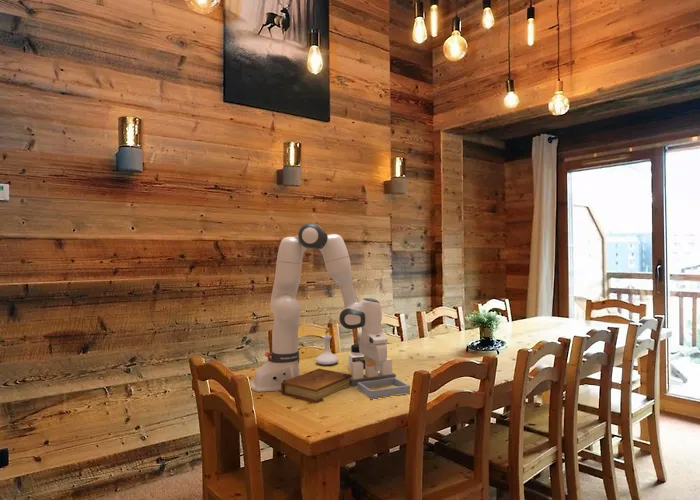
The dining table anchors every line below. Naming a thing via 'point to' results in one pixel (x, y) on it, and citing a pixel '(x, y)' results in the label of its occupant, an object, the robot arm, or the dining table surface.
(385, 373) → the block
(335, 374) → the diary
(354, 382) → the fuse block
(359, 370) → the block
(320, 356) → the flower in vase
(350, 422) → the dining table surface
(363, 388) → the tray
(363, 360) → the medicine bottle
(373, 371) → the marked fuse
